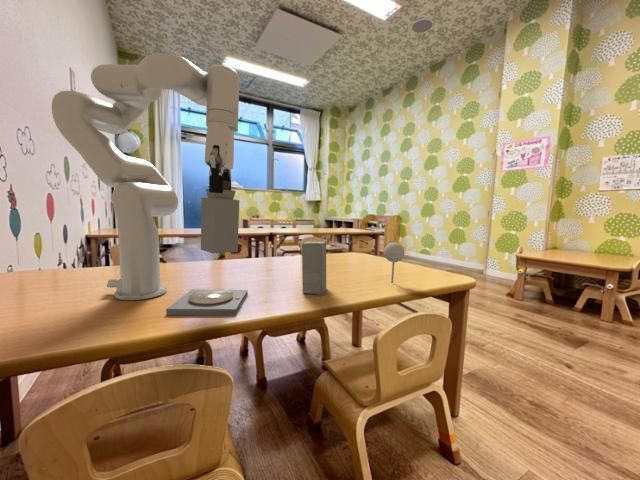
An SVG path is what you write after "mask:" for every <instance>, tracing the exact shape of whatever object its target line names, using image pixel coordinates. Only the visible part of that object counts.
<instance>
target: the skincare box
mask: <svg viewBox="0 0 640 480" xmlns="http://www.w3.org/2000/svg"><path fill="white" fill-rule="evenodd" d="M301 243H302V244H301V264H302V266H301V267H302V268H301V270H302V272H301V273H302V274H301V275H302V277H301V278H302V280H301V281H302V294H313V295H320V296H321V295H323V294H324V292H325V291H326V290H327V241H309V240H307V241H305V242H301Z"/></svg>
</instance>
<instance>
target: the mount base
mask: <svg viewBox="0 0 640 480" xmlns="http://www.w3.org/2000/svg"><path fill="white" fill-rule="evenodd" d="M247 296H248V289H225V288H224V289H223V288H207V289H198V288H197V289H196V288H194V289H190V290H189V291H188V292H186V293H185V294H184V295H182V296H181V297H180V298H178V299H177V300H176V301H174V302H173V303H172V304H171V305H169V306H168V307H166V309H165V310H166V311H165V314H166V315H165V316H237V314H238V312H239V310H240V309H241V307H242V305H243V303H244V302H245V300H246V298H247Z"/></svg>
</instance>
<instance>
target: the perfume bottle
mask: <svg viewBox="0 0 640 480" xmlns="http://www.w3.org/2000/svg"><path fill="white" fill-rule="evenodd" d="M229 187H230V182H229V181H223V193H211V192H209V188H205V191H206V192H205V193H206V196H207V197H204V196H203V197H201V210H200V211H201V213H200V214H201V218H200V219H201V221H200V224H201V225H200V250H201V251H204V252H207V253H210V254H213V255H214V254H223V253H235V252H236V253H237V252H239V251H238V248H239V225H240V223H239V222H240V220H239V219H240V200H239V199H234V198H235V194H236V191H237V190H232V189H231V190H229Z"/></svg>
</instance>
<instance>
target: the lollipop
mask: <svg viewBox="0 0 640 480" xmlns="http://www.w3.org/2000/svg"><path fill="white" fill-rule="evenodd" d="M383 255H384V258H385V259H386V260H387V261H389V262H391V263H392V264H391V281H390V284H391V283H393V284H394V278H395V277H394V273H395V272H394V271H395V263H398V262H400V261H402V260H403V259H404V256H405V248H404V247H403V246H402V244H401V243H398V242H396V241H395V242H390V243H388V244H387V245H385V247H384V249H383Z"/></svg>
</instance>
